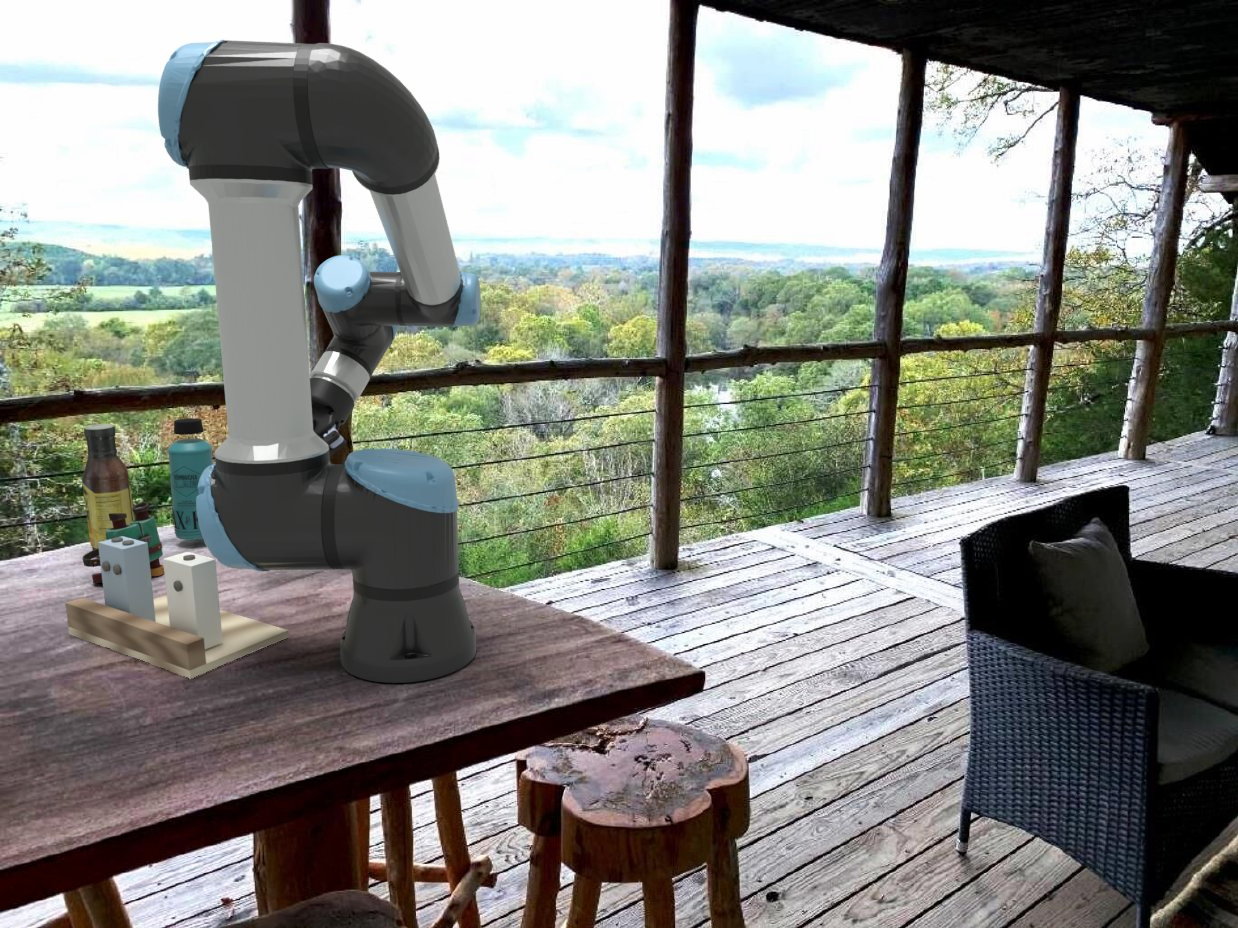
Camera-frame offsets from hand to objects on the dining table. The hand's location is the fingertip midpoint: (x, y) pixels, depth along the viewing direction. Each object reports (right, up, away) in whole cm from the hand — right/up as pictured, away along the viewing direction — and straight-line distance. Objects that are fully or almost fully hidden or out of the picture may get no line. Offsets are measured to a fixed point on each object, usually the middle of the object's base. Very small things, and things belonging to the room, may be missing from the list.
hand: (248, 531), depth 122 cm
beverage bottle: (-17, -4, +22) cm, 28 cm away
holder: (-3, -12, -14) cm, 18 cm away
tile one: (+1, -11, -18) cm, 22 cm away
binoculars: (-20, -7, +6) cm, 22 cm away
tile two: (-9, -10, -13) cm, 19 cm away
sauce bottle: (-27, -5, +17) cm, 32 cm away
